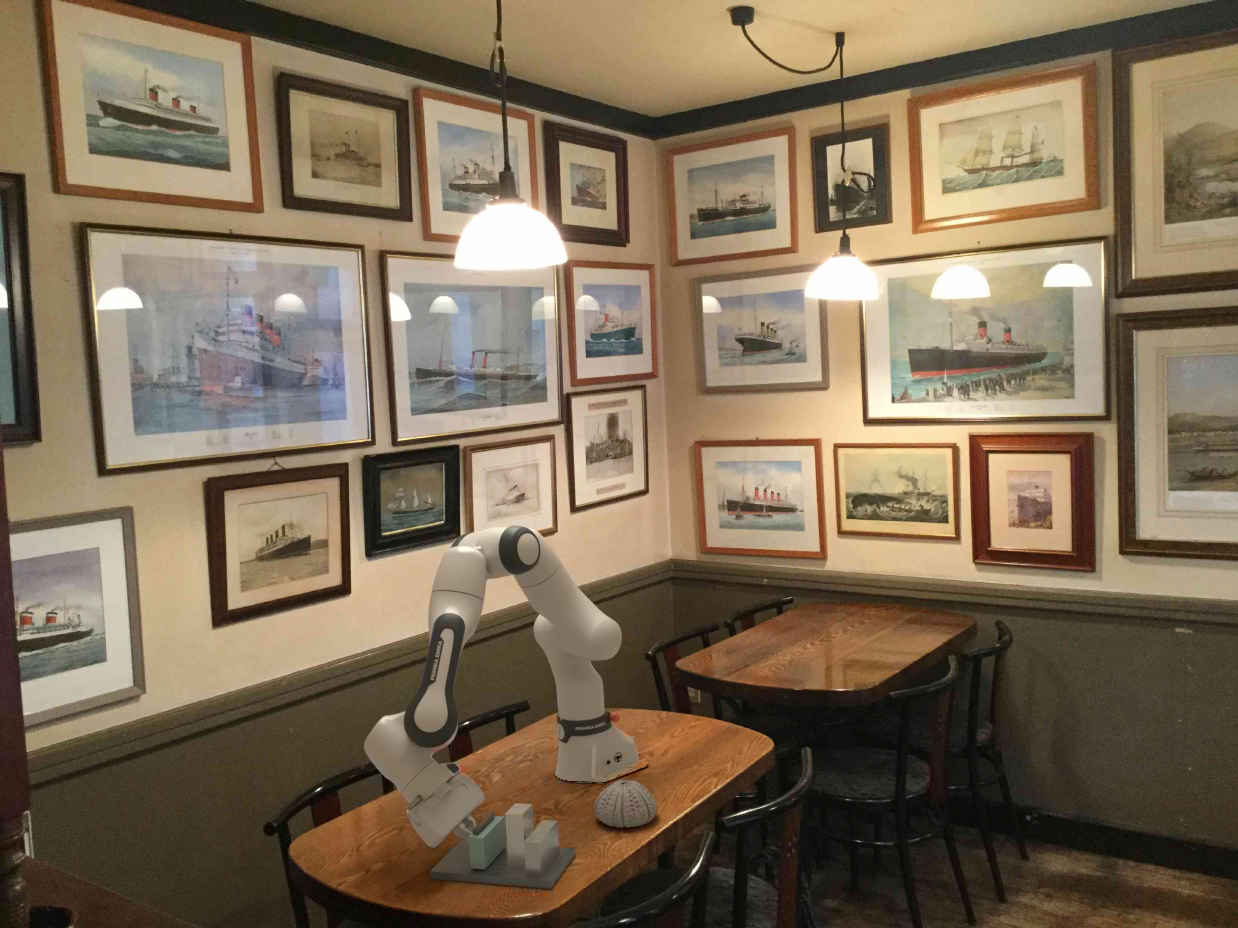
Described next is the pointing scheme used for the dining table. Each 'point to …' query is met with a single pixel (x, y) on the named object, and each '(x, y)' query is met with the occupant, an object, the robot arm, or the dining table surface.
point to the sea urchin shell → (625, 804)
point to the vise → (539, 870)
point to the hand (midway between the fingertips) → (477, 840)
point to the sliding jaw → (487, 841)
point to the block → (518, 832)
